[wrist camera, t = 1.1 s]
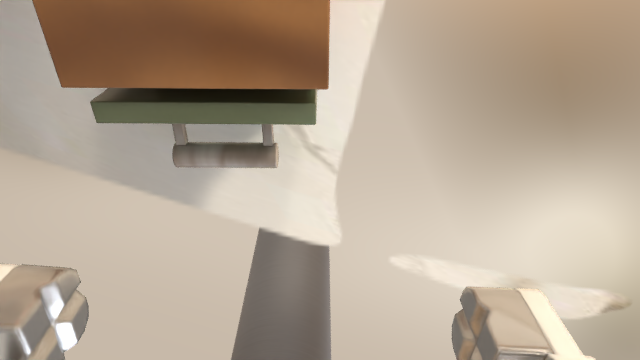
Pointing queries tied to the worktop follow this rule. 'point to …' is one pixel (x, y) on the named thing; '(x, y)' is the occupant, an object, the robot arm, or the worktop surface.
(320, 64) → the cabinet
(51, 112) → the worktop surface
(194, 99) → the drawer
